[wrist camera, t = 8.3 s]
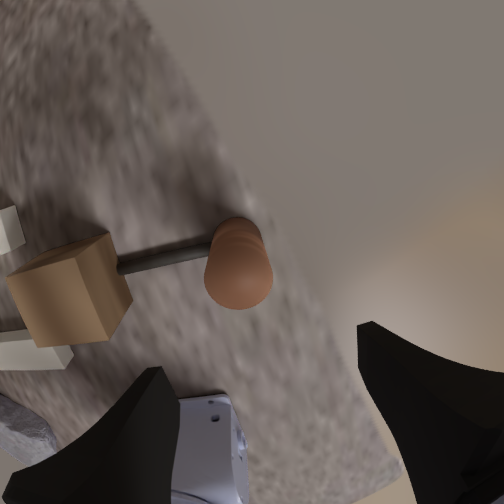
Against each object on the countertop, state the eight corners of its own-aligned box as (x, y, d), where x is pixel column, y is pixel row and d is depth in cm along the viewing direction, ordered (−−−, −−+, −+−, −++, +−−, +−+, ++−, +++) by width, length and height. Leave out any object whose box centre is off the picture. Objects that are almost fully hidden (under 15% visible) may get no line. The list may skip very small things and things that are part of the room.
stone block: (58, 410, 26) (-13, 383, 23) (51, 442, 22) (-25, 412, 18) (64, 453, 30) (4, 432, 26) (61, 479, 25) (-2, 457, 22)
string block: (252, 196, 18) (261, 216, 13) (268, 272, 20) (281, 320, 14) (44, 252, 18) (-5, 284, 13) (68, 312, 20) (30, 356, 14)
